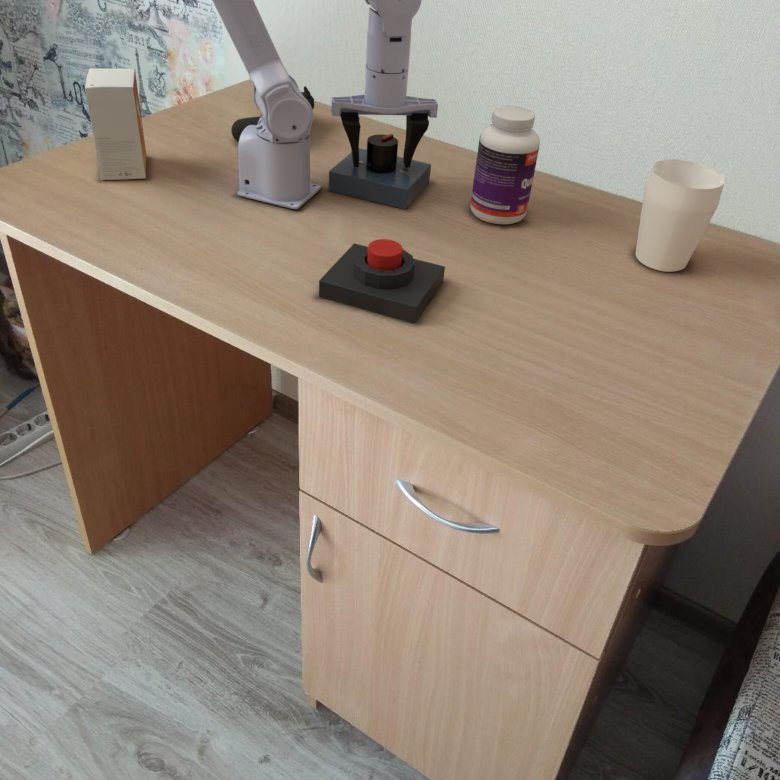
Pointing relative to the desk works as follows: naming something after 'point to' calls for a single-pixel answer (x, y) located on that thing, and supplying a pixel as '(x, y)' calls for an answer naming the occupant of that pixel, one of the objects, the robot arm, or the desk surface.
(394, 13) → the robot arm
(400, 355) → the desk surface
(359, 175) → the dial panel
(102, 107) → the small box
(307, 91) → the gaming controller
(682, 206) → the cup
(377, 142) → the dial
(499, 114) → the pill bottle
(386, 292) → the button housing
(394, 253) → the lid button
